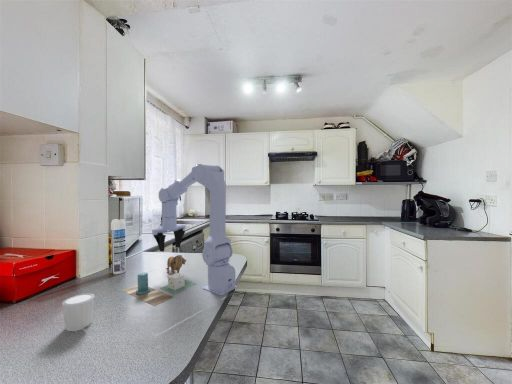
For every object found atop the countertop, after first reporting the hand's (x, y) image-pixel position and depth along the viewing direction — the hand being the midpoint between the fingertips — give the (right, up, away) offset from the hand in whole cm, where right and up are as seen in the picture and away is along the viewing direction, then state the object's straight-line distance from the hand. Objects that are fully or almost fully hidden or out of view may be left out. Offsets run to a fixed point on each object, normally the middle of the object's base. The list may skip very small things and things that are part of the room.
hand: (170, 249), depth 100 cm
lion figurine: (+3, -10, -2) cm, 11 cm away
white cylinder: (-10, -11, -38) cm, 41 cm away
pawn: (-2, -10, -19) cm, 22 cm away
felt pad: (+8, -10, -14) cm, 19 cm away
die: (+8, -10, -15) cm, 20 cm away
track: (0, -10, -20) cm, 23 cm away
